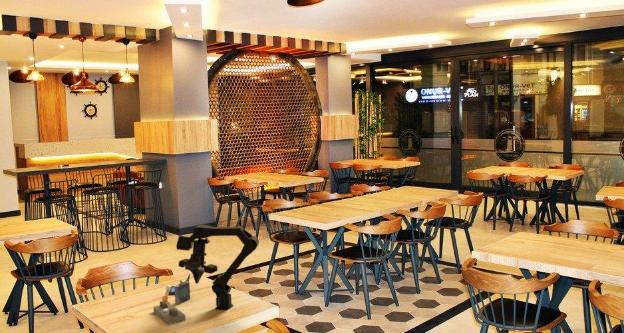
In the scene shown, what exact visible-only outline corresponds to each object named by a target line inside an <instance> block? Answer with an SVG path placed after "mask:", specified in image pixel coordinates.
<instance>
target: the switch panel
mask: <svg viewBox="0 0 624 333" xmlns="http://www.w3.org/2000/svg"><path fill="white" fill-rule="evenodd" d="M162 303H163V301H162V300H161V301H159V305H155V306H153V307H152V308H153V312H154V314H155V315H157V317H159V319H161V320H162V321H164V323H166V324H167V325H171V323H172V324H175V322H176V323H179V321H180V322H184V321H186V315H185V313H183V311H181V310H179V308H177V307H176V306H174V305H173V304H172V303H170V305H171V306H172V308H173V309H174V311H172V313H171V311H170V309H169V307H168V306H167V304H166V303H163V304H162ZM183 320H184V321H183Z"/></svg>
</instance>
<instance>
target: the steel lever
mask: <svg viewBox="0 0 624 333" xmlns="http://www.w3.org/2000/svg"><path fill="white" fill-rule="evenodd" d="M170 290H171V285H170V284H167V285H166V286H165V293H164V296H167V297H168V298H169V291H170ZM163 303H165V302H164V301H163ZM163 303H162V304H163Z"/></svg>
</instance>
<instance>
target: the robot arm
mask: <svg viewBox="0 0 624 333" xmlns="http://www.w3.org/2000/svg"><path fill="white" fill-rule="evenodd" d="M230 236H231V237H233V236H234V237H235V236H236V237H237V238H238V239H239V241H240V242H241V243H242V244H243V247H242V249H241V251H240V252H239V254H238V255H237V256H236V257H235V259H234V260H233V262H232V263H231V264H230V265H229V266H228V268H227V269H226V271H224V273H222V274H221V273H219V274H218V275H217V276H216V278H214V280H213V281H212V285H211V290H212V292H213V293H214V294H215V297H216V298H215V306H216V307H215V309H216V310H224V311H227V310H230V309H231V308H232V307H233V306H234V304H233V303H232V294H231V290H232V287H231V286H230V285H229V284H228V283H229V281H230V280H231V278H232V276H233V275H234V274H235V273H236V271H237V270H238V269H239V267H240V266H241V265H242V263H243V262H244V261H245V259H247V257H249V255H250V254H252V253H253V252H254V251H256V249H257V247H258V246H259V244H260V240H259V238H258V237H257V236H254V235H253V234H251V233H250V232H249V231H247V230H246V229H245V228H244V227H243V226H239V225H238V226H211V225H208V224H199V225H197V226H196V227H194V229H193V230H192V234H191V235H189V236H187V235H178V239H177V240H176V241H177V242H176V245H175V247H176V250H178V251H187V252H189V251H190V250H192V253H191V254H190V258H183V259H180V260H179V262H178V265H177V266H178V268H179V267H180V268H184V270H186V271H189V272H191V274H192V276H193V279H194V283H195V284H196V285H197V284H199V282H200V281H201V278H202V276H203V275H204V273H206V274H210V275H211V274H213V273H216V272H218V270H219V269H218V265H217V264H212V263H209V264H206V263H207V261H205V260H206V259H205V256H207V252H206V245H208V244H209V243H211V240H209V238H211V237H230Z"/></svg>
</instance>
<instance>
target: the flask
mask: <svg viewBox="0 0 624 333" xmlns="http://www.w3.org/2000/svg"><path fill="white" fill-rule="evenodd" d="M173 286H174V288H175V295H174V302H175V305H179V304H183V303H185V302H187V301H189V300H191V290H190V289H191V288H190V286H191V285H190V281H189V282H188V281H186V280H185V281H183V280H182V279H180V280H179V283H178V284H175V285H173Z"/></svg>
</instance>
